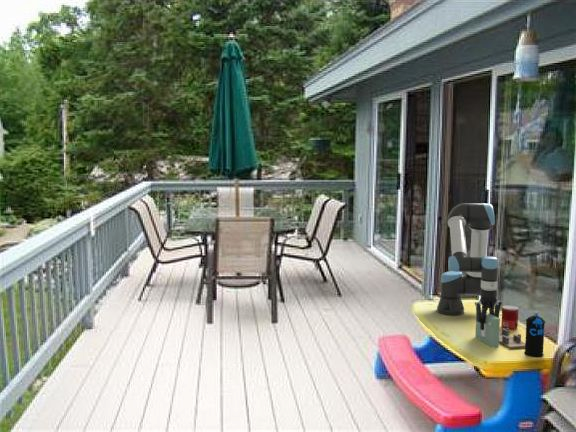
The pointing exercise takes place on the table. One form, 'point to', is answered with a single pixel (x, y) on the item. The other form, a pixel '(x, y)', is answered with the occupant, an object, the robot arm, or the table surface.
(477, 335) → the door
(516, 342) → the hinge board
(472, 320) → the table surface
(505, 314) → the canned food
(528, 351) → the aerosol can
